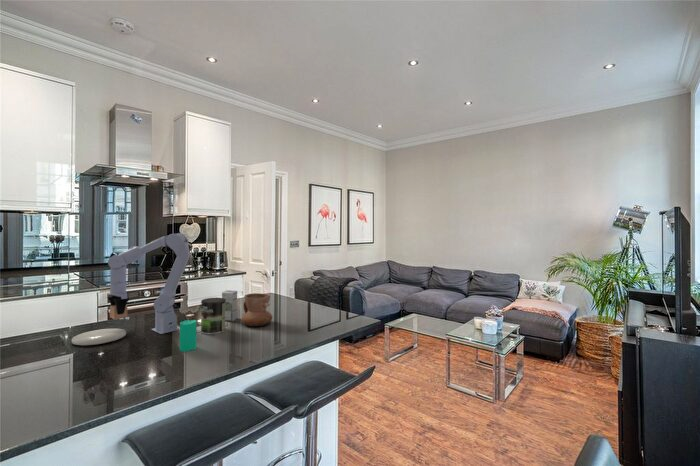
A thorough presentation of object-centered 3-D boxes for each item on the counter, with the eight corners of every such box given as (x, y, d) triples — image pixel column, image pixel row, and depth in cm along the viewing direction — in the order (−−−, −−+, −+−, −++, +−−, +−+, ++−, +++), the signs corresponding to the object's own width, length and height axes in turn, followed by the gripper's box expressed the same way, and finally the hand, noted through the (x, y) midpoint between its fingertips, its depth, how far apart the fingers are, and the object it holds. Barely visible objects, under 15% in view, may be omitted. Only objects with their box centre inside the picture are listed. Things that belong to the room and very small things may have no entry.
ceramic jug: (280, 324, 162) (280, 295, 162) (255, 331, 151) (255, 299, 151) (257, 318, 173) (257, 290, 173) (232, 324, 162) (232, 294, 162)
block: (127, 316, 147) (127, 305, 147) (114, 319, 143) (114, 307, 143) (122, 314, 150) (122, 303, 150) (109, 317, 146) (109, 305, 146)
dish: (133, 337, 140) (133, 334, 140) (80, 350, 125) (80, 346, 125) (116, 329, 150) (116, 325, 150) (65, 339, 136) (65, 336, 136)
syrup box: (237, 318, 171) (237, 290, 171) (232, 321, 165) (232, 292, 165) (226, 317, 172) (227, 289, 171) (221, 321, 166) (221, 292, 166)
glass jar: (213, 336, 144) (213, 303, 144) (195, 332, 148) (195, 301, 147) (230, 329, 153) (230, 298, 153) (213, 326, 157) (213, 296, 157)
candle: (200, 347, 131) (200, 316, 131) (188, 352, 125) (188, 320, 125) (188, 344, 133) (188, 315, 132) (175, 350, 127) (176, 319, 127)
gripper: (101, 281, 147) (101, 311, 148) (113, 285, 139) (113, 317, 139) (120, 279, 153) (119, 308, 153) (132, 283, 144) (132, 314, 145)
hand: (118, 312), depth 146 cm, fingers closed on block, 5 cm apart
